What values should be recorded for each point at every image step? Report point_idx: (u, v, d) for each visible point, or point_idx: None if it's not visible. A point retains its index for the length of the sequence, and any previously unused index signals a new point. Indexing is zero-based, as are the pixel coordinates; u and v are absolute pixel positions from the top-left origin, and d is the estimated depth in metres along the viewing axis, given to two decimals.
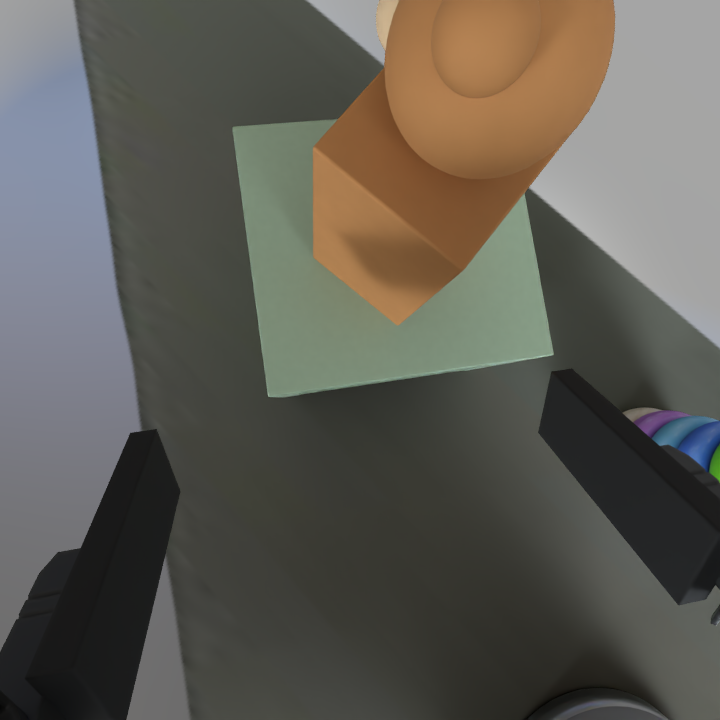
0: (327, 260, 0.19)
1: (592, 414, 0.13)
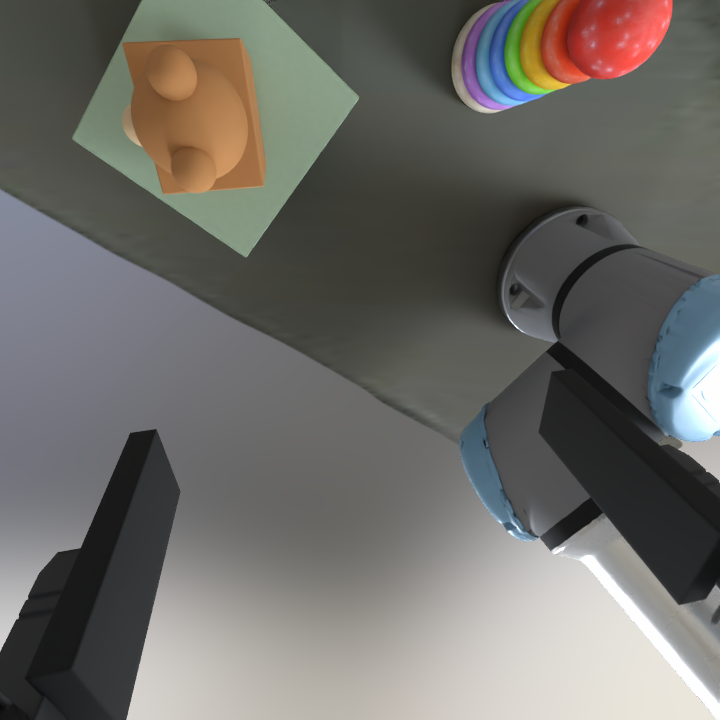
0: None
1: (592, 414, 0.13)
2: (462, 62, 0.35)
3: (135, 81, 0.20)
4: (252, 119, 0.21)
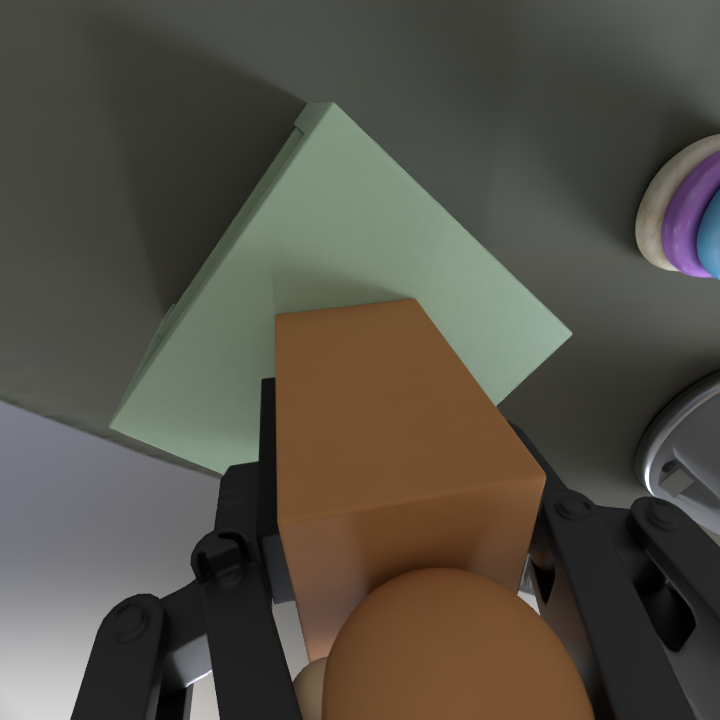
0: None
1: None
2: (669, 222, 0.24)
3: (295, 569, 0.08)
4: (520, 574, 0.10)
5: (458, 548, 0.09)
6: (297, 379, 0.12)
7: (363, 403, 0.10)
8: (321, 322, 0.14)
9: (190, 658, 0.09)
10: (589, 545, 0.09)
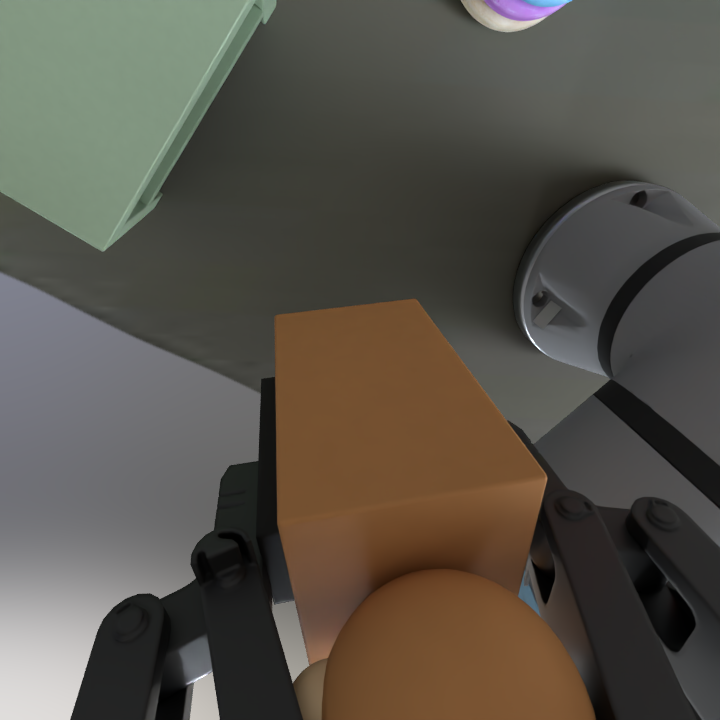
0: None
1: None
2: None
3: (295, 571, 0.08)
4: (521, 576, 0.10)
5: (459, 549, 0.09)
6: (297, 380, 0.11)
7: (363, 403, 0.10)
8: (321, 322, 0.14)
9: (190, 658, 0.09)
10: (588, 544, 0.09)
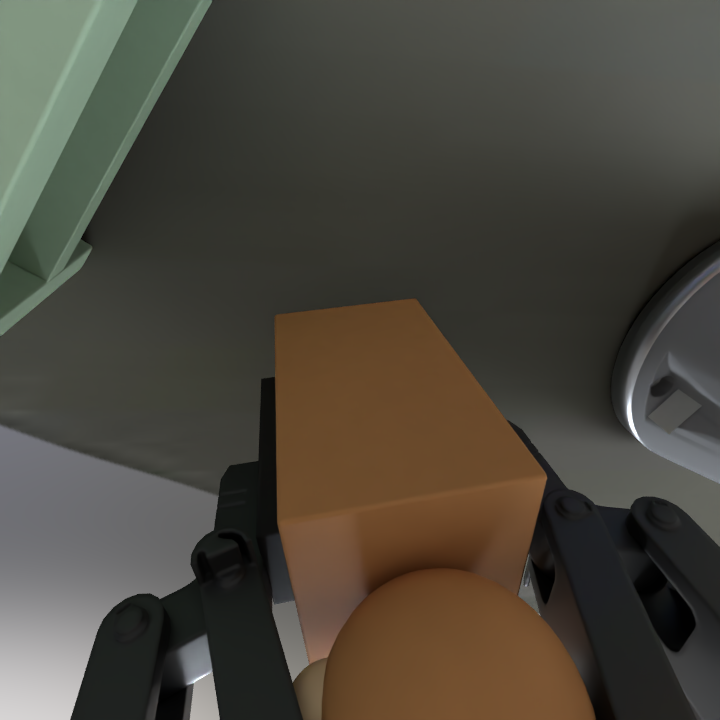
0: None
1: None
2: None
3: (295, 570, 0.08)
4: (521, 575, 0.10)
5: (458, 549, 0.09)
6: (297, 379, 0.11)
7: (363, 403, 0.10)
8: (321, 322, 0.14)
9: (190, 658, 0.09)
10: (588, 545, 0.09)
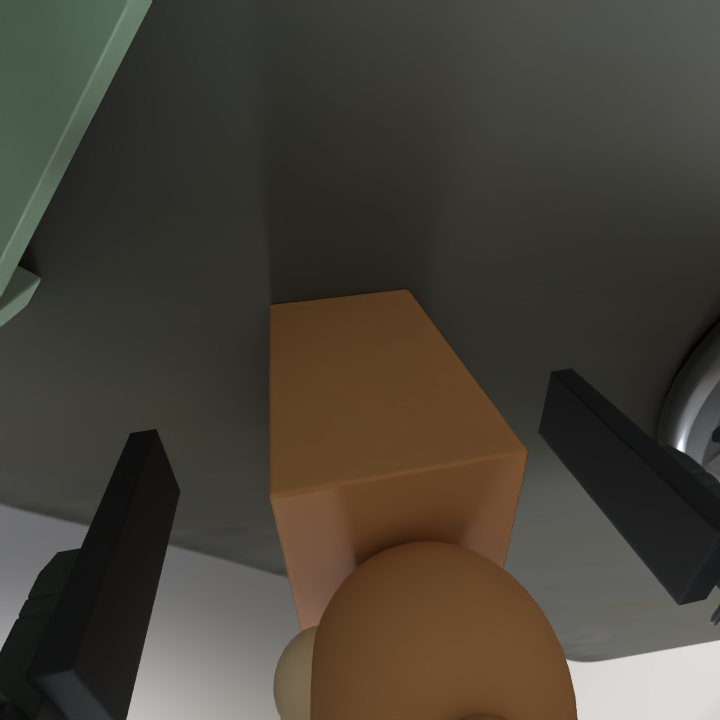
0: None
1: (592, 414, 0.13)
2: None
3: (287, 543, 0.09)
4: (505, 551, 0.10)
5: (444, 523, 0.09)
6: (290, 365, 0.12)
7: (354, 386, 0.11)
8: (315, 312, 0.15)
9: None
10: None
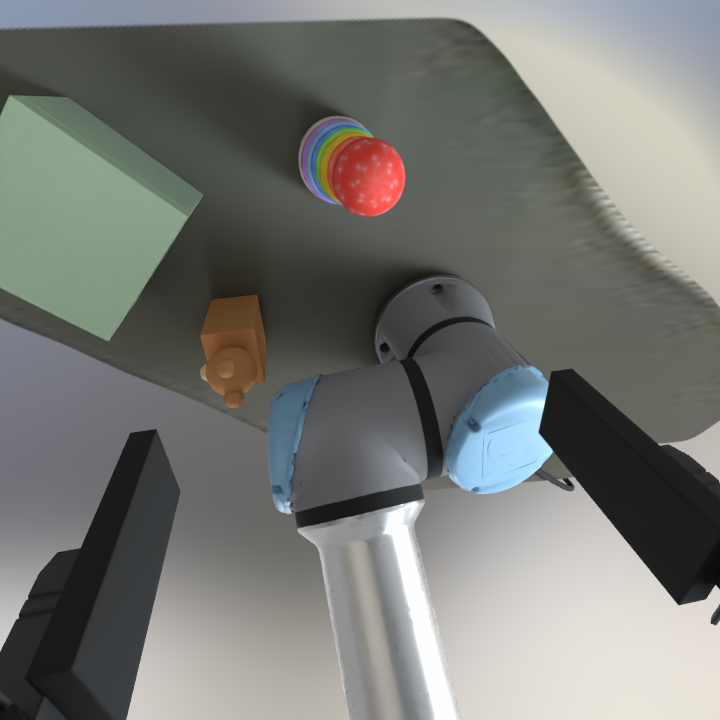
0: None
1: (592, 414, 0.13)
2: (301, 168, 0.41)
3: (204, 348, 0.42)
4: (259, 357, 0.44)
5: (240, 346, 0.43)
6: (211, 314, 0.45)
7: (225, 318, 0.44)
8: (224, 301, 0.48)
9: None
10: None
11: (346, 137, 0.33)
